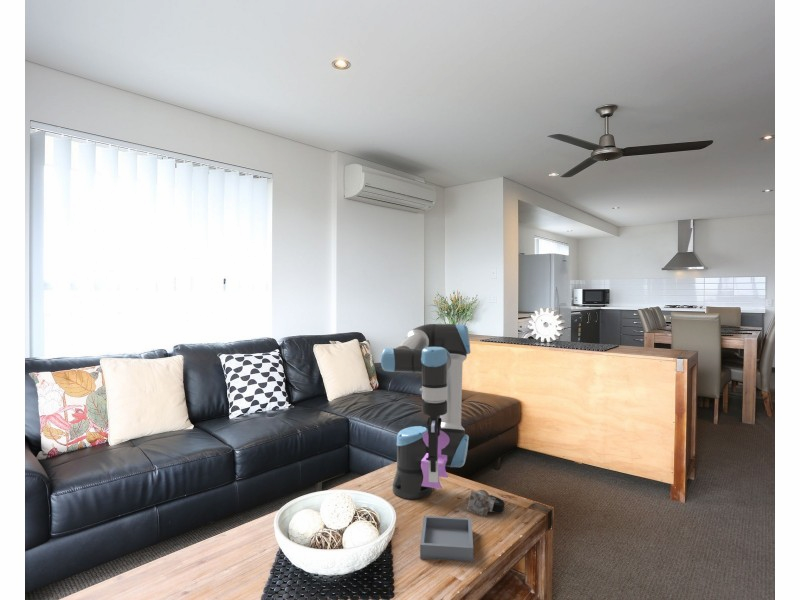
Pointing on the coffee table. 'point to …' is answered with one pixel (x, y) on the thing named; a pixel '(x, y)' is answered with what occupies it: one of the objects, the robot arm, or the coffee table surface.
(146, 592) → the coffee table surface
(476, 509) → the grey brown rock
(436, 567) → the coffee table surface
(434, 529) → the tray
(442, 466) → the toy chair
